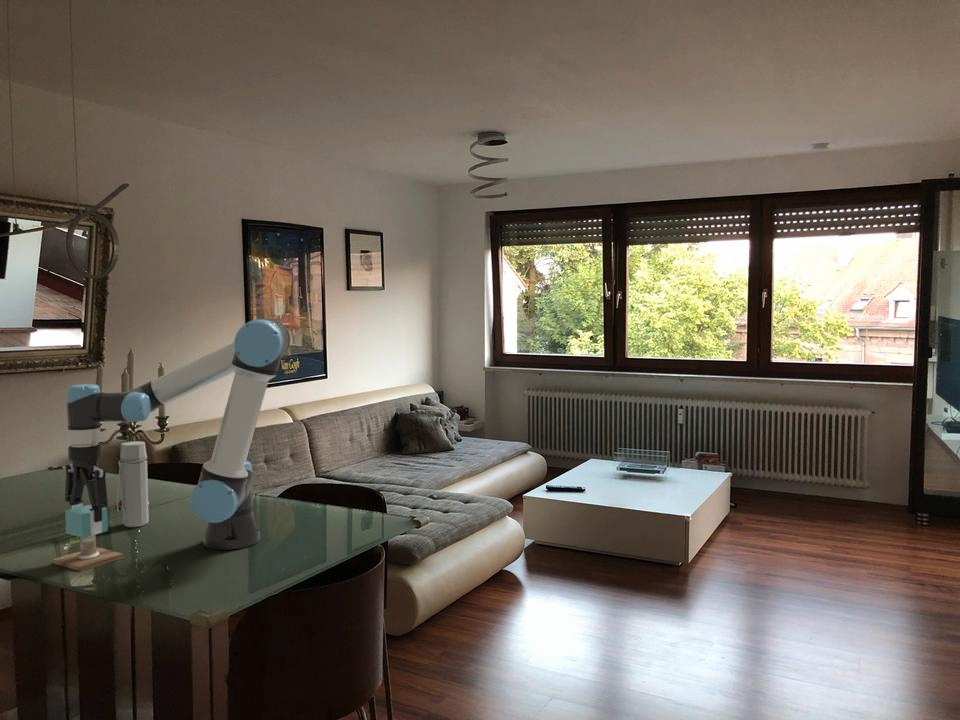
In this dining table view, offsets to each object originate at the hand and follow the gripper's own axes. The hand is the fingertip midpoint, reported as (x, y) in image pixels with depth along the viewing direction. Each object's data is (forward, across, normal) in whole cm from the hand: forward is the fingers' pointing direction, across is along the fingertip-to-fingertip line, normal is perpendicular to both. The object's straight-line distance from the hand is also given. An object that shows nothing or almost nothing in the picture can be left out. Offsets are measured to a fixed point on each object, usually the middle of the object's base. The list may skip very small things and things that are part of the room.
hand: (87, 531), depth 198 cm
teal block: (0, 0, 0) cm, 0 cm away
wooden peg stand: (+8, 0, 0) cm, 8 cm away
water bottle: (+8, +18, -26) cm, 33 cm away
